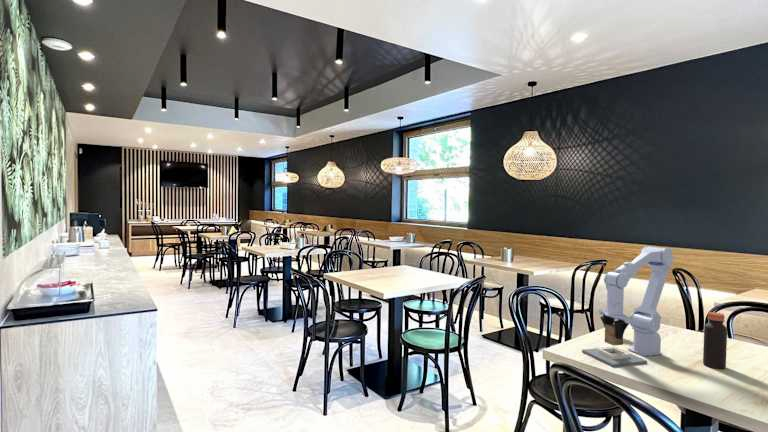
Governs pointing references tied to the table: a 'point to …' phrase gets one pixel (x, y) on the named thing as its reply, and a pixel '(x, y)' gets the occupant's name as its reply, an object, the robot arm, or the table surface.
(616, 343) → the peg
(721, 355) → the bottle
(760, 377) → the table surface
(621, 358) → the holder
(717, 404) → the table surface
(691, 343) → the table surface
